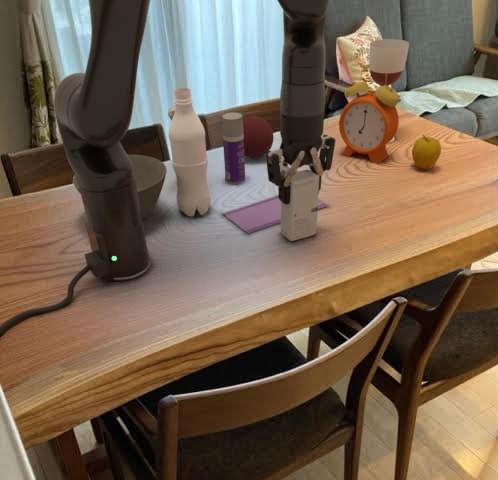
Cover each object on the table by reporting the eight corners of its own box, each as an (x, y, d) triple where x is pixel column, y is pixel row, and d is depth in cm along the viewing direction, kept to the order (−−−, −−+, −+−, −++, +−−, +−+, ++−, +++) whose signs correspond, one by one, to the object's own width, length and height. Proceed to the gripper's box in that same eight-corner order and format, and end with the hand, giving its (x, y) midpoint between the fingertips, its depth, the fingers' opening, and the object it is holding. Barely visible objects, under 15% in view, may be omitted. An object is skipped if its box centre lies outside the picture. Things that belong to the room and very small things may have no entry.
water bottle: (194, 200, 120) (182, 81, 104) (218, 209, 116) (209, 87, 100) (171, 212, 116) (154, 91, 100) (195, 222, 112) (182, 98, 96)
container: (243, 185, 125) (240, 119, 116) (223, 183, 126) (219, 119, 116) (247, 176, 129) (244, 112, 119) (228, 175, 129) (224, 111, 120)
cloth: (247, 234, 108) (247, 232, 107) (222, 214, 114) (222, 213, 114) (326, 206, 116) (326, 205, 115) (298, 190, 122) (299, 188, 122)
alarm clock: (335, 153, 137) (341, 70, 125) (347, 146, 141) (354, 64, 128) (383, 165, 131) (394, 78, 118) (394, 156, 135) (406, 71, 122)
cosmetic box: (291, 242, 104) (292, 183, 96) (279, 232, 107) (279, 174, 100) (317, 234, 106) (321, 176, 99) (305, 224, 109) (307, 167, 102)
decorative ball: (232, 151, 141) (229, 112, 134) (269, 147, 142) (269, 108, 136) (237, 166, 133) (235, 126, 127) (277, 162, 134) (277, 122, 128)
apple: (404, 164, 131) (409, 132, 126) (428, 161, 132) (434, 128, 127) (417, 175, 126) (423, 141, 121) (442, 171, 127) (449, 138, 122)
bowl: (89, 200, 122) (79, 157, 115) (173, 194, 122) (167, 151, 116) (76, 243, 107) (64, 197, 101) (171, 235, 108) (165, 189, 102)
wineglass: (401, 134, 146) (414, 40, 132) (387, 146, 140) (400, 50, 125) (369, 128, 150) (379, 37, 136) (354, 140, 144) (363, 46, 129)
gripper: (322, 93, 97) (317, 181, 107) (254, 110, 91) (257, 200, 102) (349, 104, 92) (341, 195, 102) (279, 122, 86) (279, 216, 97)
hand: (299, 197), depth 102 cm, fingers closed on cosmetic box, 6 cm apart
